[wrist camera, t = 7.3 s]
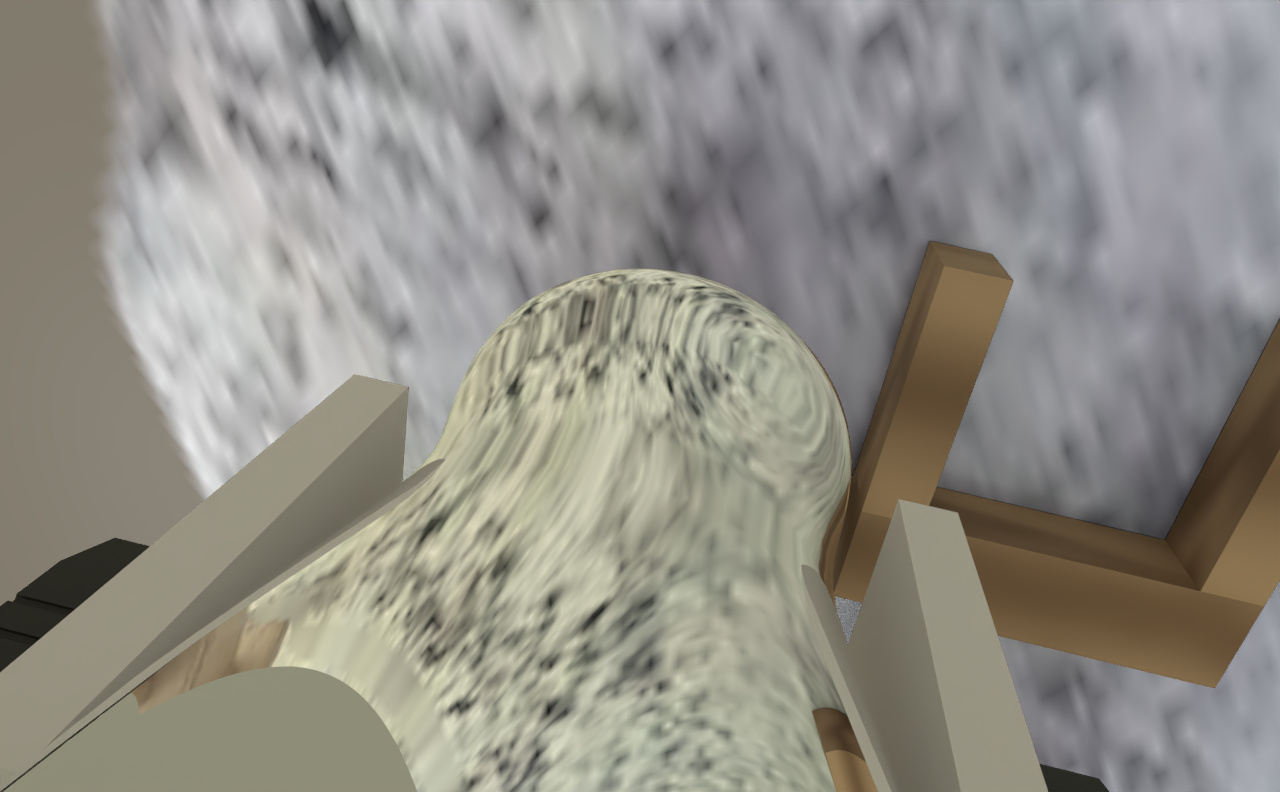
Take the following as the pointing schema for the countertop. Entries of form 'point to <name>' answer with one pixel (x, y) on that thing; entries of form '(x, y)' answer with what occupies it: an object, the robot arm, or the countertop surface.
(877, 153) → the countertop surface
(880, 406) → the u-shaped block
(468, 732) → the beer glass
